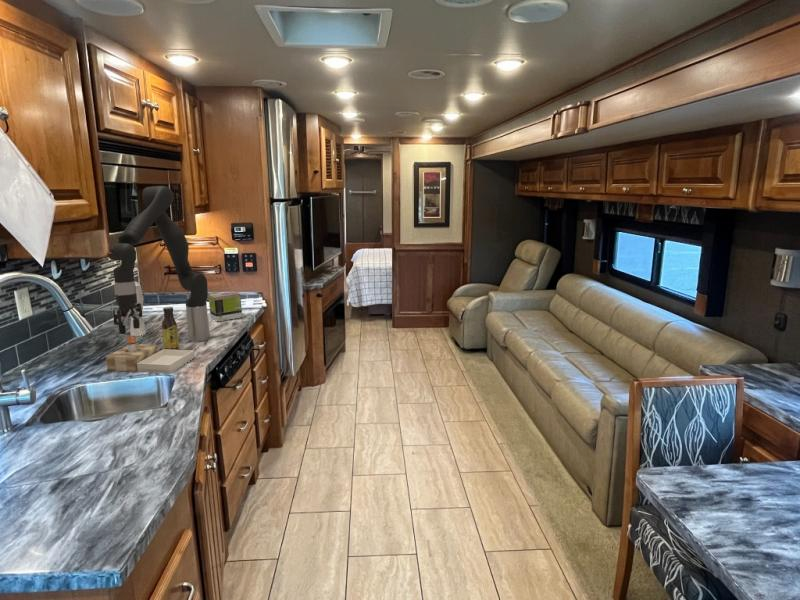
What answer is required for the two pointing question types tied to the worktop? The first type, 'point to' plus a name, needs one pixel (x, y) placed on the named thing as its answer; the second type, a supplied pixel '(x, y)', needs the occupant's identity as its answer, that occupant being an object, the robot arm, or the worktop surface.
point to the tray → (165, 361)
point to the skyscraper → (142, 328)
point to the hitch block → (129, 357)
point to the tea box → (225, 306)
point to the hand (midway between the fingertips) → (130, 331)
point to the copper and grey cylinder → (131, 343)
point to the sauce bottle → (169, 330)
